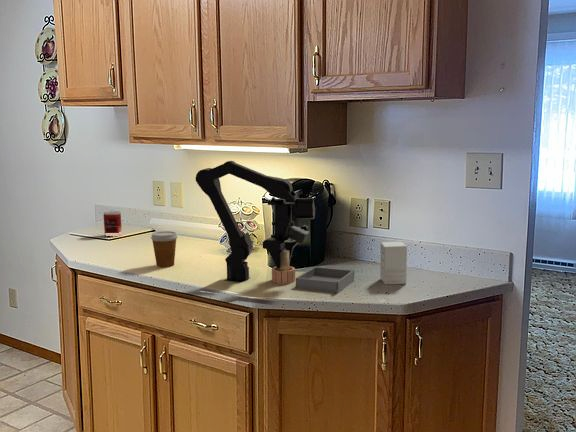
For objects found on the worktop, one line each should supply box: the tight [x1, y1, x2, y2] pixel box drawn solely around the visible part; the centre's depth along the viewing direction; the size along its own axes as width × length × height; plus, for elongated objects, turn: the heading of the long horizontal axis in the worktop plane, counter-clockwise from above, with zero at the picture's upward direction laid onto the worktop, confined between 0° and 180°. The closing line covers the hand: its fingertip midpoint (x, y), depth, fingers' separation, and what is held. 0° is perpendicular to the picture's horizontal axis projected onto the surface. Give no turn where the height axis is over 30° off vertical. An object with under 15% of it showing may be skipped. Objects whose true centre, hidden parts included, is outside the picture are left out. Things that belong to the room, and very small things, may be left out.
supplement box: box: [379, 241, 408, 285], centre depth 202 cm, size 7×7×13 cm
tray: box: [295, 266, 355, 294], centre depth 199 cm, size 14×16×4 cm
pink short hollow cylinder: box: [271, 265, 296, 285], centre depth 203 cm, size 8×8×4 cm
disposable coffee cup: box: [150, 230, 178, 268], centre depth 227 cm, size 10×10×12 cm
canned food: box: [103, 210, 122, 234], centre depth 286 cm, size 8×8×11 cm
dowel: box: [277, 250, 291, 271], centre depth 202 cm, size 4×4×10 cm
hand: (283, 265), depth 202 cm, fingers open, 7 cm apart
